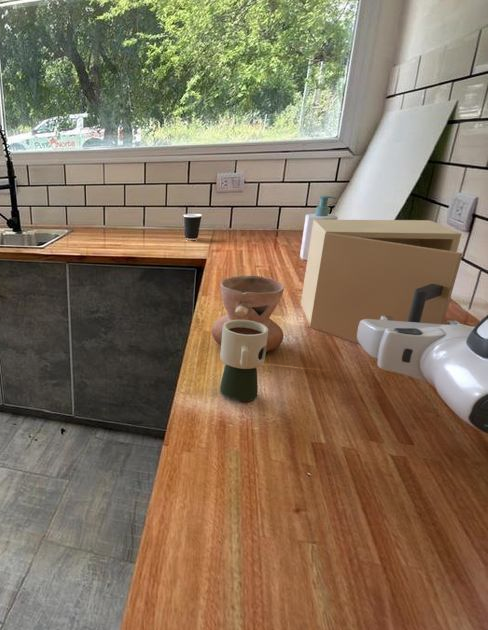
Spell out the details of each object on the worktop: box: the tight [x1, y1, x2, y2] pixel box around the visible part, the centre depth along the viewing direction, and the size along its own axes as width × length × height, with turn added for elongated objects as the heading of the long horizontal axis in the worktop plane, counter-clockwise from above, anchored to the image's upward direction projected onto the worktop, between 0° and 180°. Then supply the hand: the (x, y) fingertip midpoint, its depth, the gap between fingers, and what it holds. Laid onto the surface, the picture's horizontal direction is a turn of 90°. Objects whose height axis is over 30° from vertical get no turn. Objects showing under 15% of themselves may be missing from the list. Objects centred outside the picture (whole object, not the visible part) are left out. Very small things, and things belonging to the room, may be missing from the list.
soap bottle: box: [299, 195, 339, 262], centre depth 158 cm, size 10×9×22 cm
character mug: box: [219, 320, 268, 402], centre depth 77 cm, size 11×7×13 cm, turn 162°
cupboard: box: [300, 219, 462, 324], centre depth 105 cm, size 16×24×22 cm, turn 72°
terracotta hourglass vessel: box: [210, 274, 285, 353], centre depth 96 cm, size 18×14×14 cm
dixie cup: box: [183, 213, 203, 240], centre depth 198 cm, size 8×8×11 cm
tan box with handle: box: [309, 233, 464, 345], centre depth 90 cm, size 7×24×22 cm, turn 29°
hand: (416, 322), depth 77 cm, fingers open, 8 cm apart
